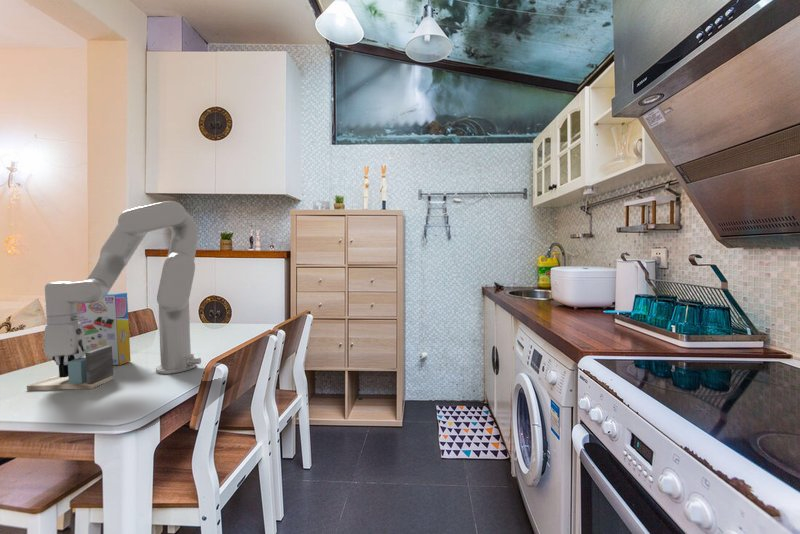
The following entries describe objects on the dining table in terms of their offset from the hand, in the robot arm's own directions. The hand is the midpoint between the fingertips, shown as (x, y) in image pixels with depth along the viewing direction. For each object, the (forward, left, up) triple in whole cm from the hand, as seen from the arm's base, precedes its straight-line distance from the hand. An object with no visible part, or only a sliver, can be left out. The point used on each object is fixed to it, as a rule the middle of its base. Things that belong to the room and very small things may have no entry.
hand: (66, 375), depth 122 cm
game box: (+7, -24, -3) cm, 25 cm away
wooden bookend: (-2, 0, -3) cm, 3 cm away
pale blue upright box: (-6, 0, -1) cm, 6 cm away
